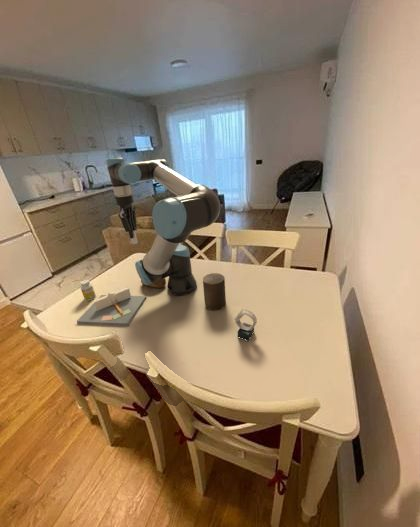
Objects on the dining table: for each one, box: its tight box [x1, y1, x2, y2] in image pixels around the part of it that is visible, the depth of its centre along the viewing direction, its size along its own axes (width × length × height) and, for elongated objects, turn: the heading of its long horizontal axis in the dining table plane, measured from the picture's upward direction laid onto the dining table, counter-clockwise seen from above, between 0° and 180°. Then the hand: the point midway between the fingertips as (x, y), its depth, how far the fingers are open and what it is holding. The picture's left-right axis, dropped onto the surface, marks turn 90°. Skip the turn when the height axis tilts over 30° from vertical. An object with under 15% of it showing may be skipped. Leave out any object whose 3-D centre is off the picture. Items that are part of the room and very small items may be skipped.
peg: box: [93, 287, 132, 314], centre depth 108 cm, size 16×13×6 cm
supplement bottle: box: [80, 279, 97, 302], centre depth 119 cm, size 5×5×10 cm
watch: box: [234, 309, 258, 341], centre depth 88 cm, size 6×8×11 cm
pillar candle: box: [202, 272, 227, 311], centre depth 106 cm, size 10×10×15 cm
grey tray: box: [76, 294, 147, 327], centre depth 110 cm, size 24×20×1 cm
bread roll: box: [140, 278, 167, 289], centre depth 126 cm, size 10×15×8 cm, turn 65°
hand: (134, 243), depth 118 cm, fingers closed
